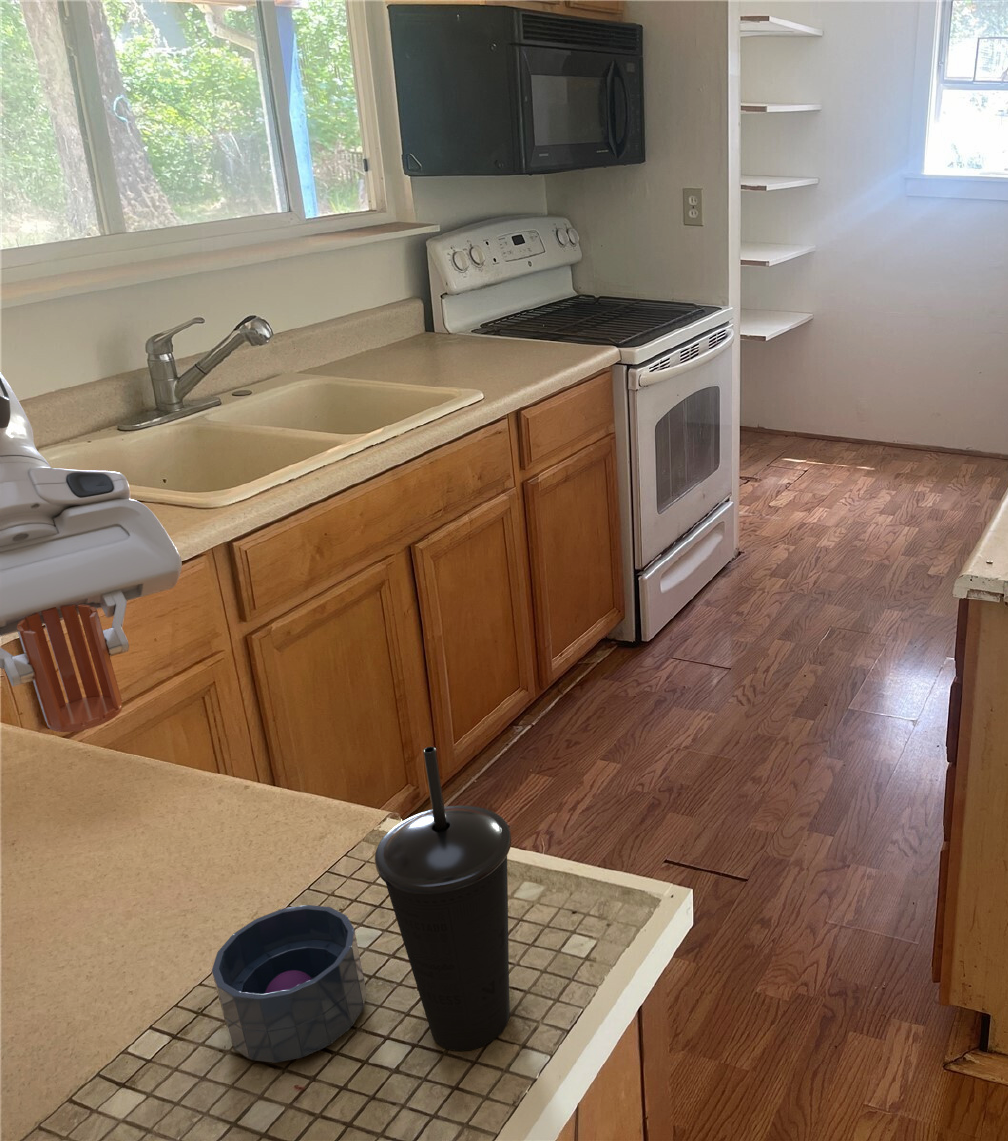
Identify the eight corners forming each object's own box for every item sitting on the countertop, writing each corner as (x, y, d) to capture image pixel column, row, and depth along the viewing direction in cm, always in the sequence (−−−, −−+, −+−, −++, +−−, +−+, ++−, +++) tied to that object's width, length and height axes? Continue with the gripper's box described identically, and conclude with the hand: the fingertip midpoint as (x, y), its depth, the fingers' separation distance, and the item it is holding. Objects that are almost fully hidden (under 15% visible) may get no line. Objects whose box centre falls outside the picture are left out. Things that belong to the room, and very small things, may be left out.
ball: (253, 1014, 64) (284, 1040, 66) (297, 984, 65) (327, 1011, 66) (253, 980, 67) (283, 1006, 69) (296, 951, 67) (325, 978, 69)
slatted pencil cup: (39, 715, 85) (9, 618, 81) (111, 692, 88) (85, 598, 85) (57, 739, 81) (26, 639, 78) (131, 714, 85) (105, 618, 81)
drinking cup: (401, 1081, 63) (347, 797, 55) (412, 987, 70) (366, 723, 62) (533, 1059, 65) (498, 779, 57) (531, 968, 71) (500, 708, 64)
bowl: (218, 1080, 63) (199, 1009, 61) (244, 983, 70) (227, 917, 68) (360, 1053, 65) (346, 983, 63) (371, 961, 72) (359, 896, 70)
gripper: (-166, 532, 76) (-96, 699, 74) (143, 468, 89) (212, 607, 87) (-154, 573, 81) (-87, 731, 78) (138, 506, 94) (204, 640, 91)
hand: (73, 665), depth 83 cm, fingers closed on slatted pencil cup, 5 cm apart
